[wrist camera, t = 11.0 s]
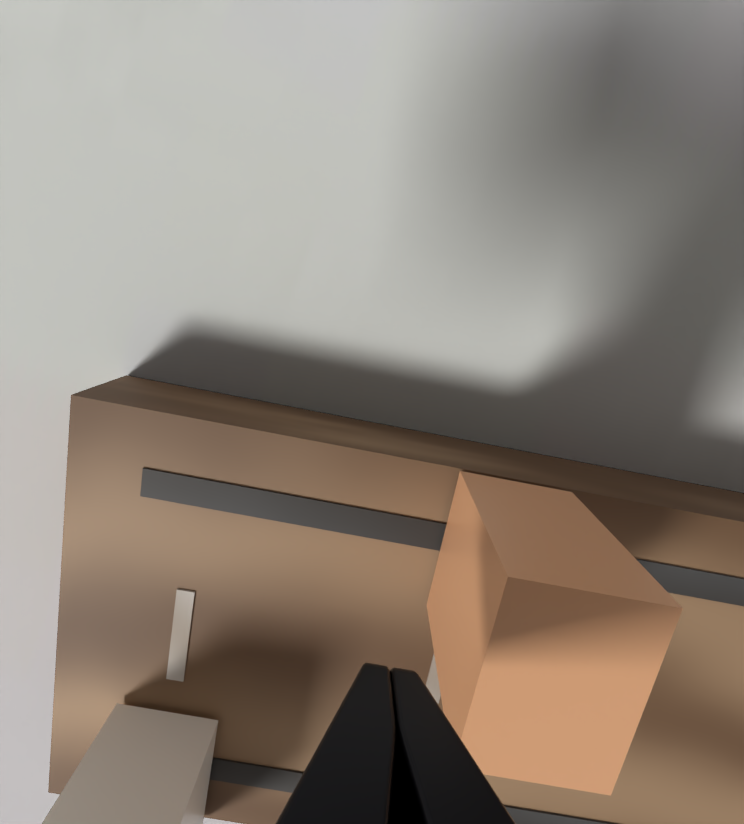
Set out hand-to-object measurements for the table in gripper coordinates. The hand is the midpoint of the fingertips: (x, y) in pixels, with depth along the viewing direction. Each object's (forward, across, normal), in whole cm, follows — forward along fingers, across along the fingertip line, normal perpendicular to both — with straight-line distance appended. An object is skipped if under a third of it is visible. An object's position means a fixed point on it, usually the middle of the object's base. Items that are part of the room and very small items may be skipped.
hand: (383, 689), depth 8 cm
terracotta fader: (+6, -3, 0) cm, 7 cm away
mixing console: (+9, -3, +5) cm, 10 cm away
